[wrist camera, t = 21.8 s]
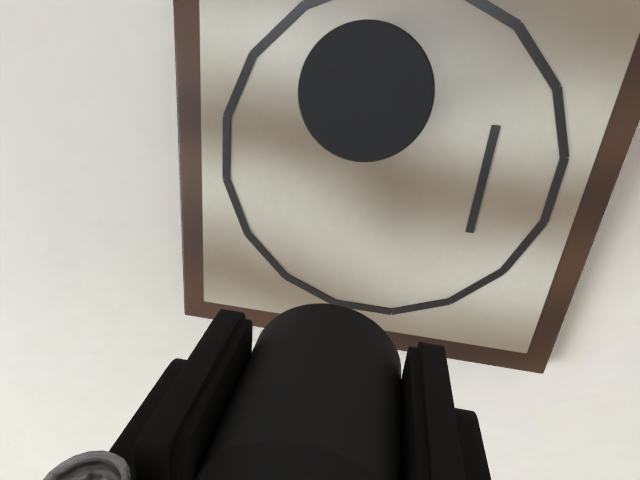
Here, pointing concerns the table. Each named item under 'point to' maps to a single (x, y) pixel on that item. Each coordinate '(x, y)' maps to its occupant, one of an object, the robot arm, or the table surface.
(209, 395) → the robot arm
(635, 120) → the picture frame
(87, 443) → the table surface
